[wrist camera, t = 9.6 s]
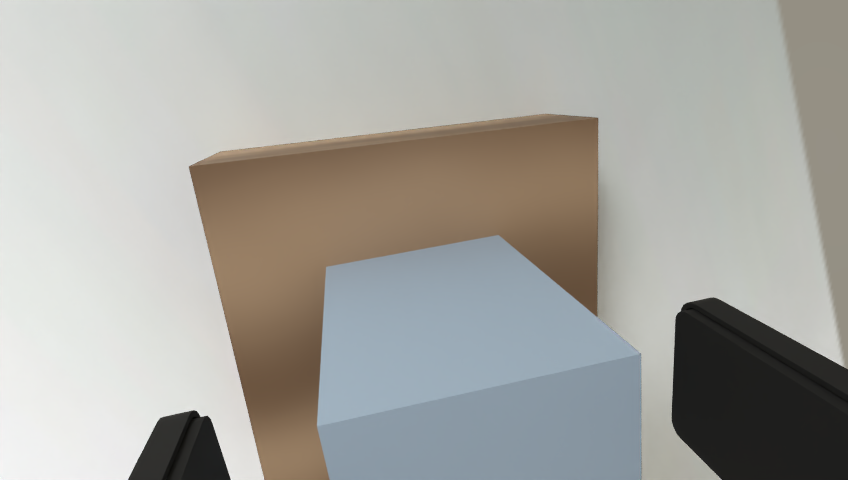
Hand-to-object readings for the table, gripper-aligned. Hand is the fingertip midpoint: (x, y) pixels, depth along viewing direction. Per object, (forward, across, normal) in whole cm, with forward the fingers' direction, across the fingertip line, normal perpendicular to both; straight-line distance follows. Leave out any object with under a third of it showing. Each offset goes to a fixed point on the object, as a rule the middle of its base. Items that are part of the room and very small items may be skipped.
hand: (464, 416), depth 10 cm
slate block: (+5, 0, +1) cm, 5 cm away
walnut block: (+9, 0, +1) cm, 9 cm away
